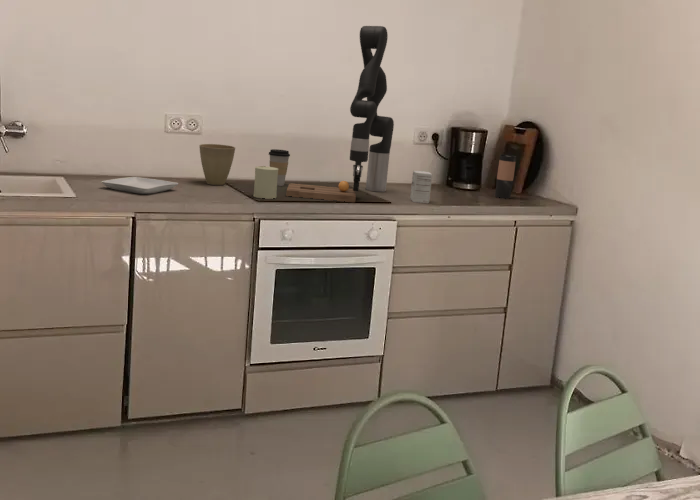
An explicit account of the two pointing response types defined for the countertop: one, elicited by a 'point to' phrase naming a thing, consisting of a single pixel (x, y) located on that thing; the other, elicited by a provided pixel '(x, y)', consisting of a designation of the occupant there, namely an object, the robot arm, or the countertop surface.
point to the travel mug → (505, 176)
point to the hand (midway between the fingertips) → (355, 191)
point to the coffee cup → (279, 163)
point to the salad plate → (139, 185)
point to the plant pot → (216, 162)
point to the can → (265, 182)
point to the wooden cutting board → (320, 192)
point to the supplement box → (421, 186)
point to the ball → (343, 186)
